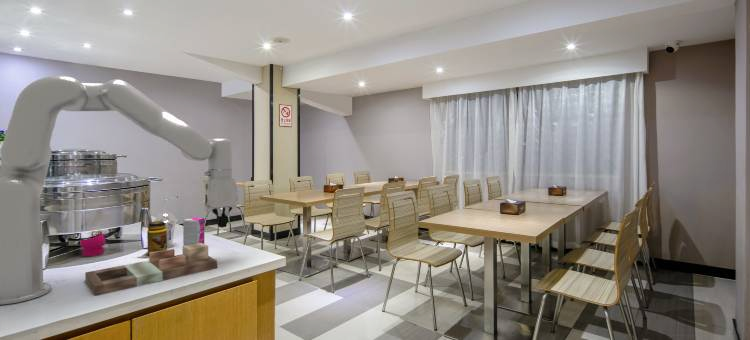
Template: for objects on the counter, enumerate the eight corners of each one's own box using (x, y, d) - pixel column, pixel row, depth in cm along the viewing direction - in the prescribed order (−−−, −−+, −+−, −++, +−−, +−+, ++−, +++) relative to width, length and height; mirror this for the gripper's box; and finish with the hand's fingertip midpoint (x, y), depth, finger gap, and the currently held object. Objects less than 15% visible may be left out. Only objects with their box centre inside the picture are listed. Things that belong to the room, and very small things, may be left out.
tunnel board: (199, 257, 129) (199, 242, 129) (217, 267, 119) (217, 251, 118) (85, 280, 106) (84, 262, 106) (94, 295, 96) (94, 275, 95)
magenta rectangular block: (85, 258, 127) (83, 201, 126) (77, 254, 131) (75, 199, 130) (109, 253, 133) (107, 199, 132) (100, 250, 137) (98, 197, 136)
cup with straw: (169, 242, 149) (168, 194, 148) (183, 245, 145) (182, 195, 144) (148, 247, 142) (147, 196, 140) (162, 250, 137) (161, 198, 136)
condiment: (163, 257, 129) (162, 224, 129) (137, 258, 128) (136, 224, 127) (171, 251, 137) (171, 220, 136) (147, 252, 135) (146, 220, 135)
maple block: (189, 262, 117) (189, 249, 116) (182, 257, 121) (182, 246, 120) (208, 258, 121) (208, 246, 121) (201, 254, 125) (201, 242, 125)
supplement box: (198, 249, 139) (197, 220, 139) (182, 249, 139) (182, 220, 139) (205, 245, 145) (204, 217, 144) (190, 245, 145) (190, 217, 145)
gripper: (202, 176, 117) (204, 232, 119) (246, 173, 128) (247, 224, 129) (193, 175, 123) (195, 228, 124) (236, 172, 133) (238, 221, 135)
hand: (222, 226), depth 127 cm, fingers closed
